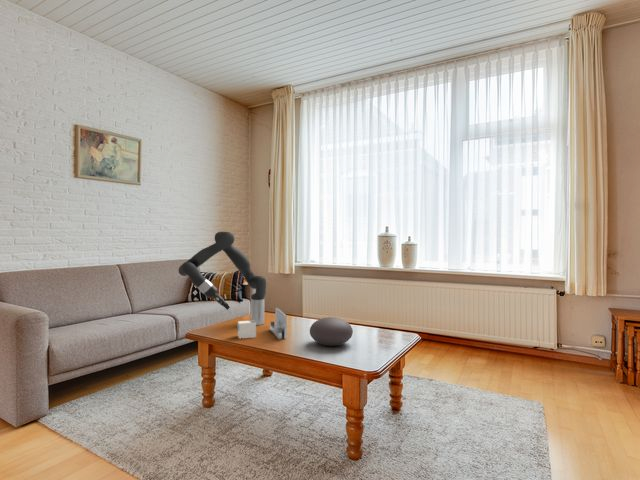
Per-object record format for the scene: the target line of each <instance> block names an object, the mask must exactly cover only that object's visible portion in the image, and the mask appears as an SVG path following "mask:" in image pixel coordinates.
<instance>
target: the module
mask: <svg viewBox="0 0 640 480" xmlns="http://www.w3.org/2000/svg"><path fill="white" fill-rule="evenodd" d="M236 329H237V338H238V339H239V340H242V339H249V338H250V339H252V338H257V325H256V321H255V320H251V319H250V320H240V321H237V324H236ZM241 338H242V339H241Z"/></svg>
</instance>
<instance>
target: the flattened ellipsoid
mask: <svg viewBox="0 0 640 480" xmlns="http://www.w3.org/2000/svg"><path fill="white" fill-rule="evenodd" d="M353 331H354V330H353V328H352V325H351V324H350V323H349V322H348V321H347V320H345V319H342V318H340V317H333V316H329V317H327V316H326V317H322V318H319V319H317V320H316V321H314V322H313V323H312V324H311V326H310V327H309V335H310V337H311V338H312V340H314V341H315V342H316V343H318V344H321V345H324V346H329V347H330V346H331V347H333V346H335V347H336V346H340V345H342V344H346V343H347V342H349V340H351V339H352V337H353V333H354V332H353Z"/></svg>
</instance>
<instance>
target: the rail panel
mask: <svg viewBox="0 0 640 480" xmlns="http://www.w3.org/2000/svg"><path fill="white" fill-rule="evenodd" d="M274 312H275V314H274V315H275V318H274V319H275V320H273V321H270V324H269V327H270V328H269V329H270V331H271V333H273V335H274V336H275V337H276V338H277V339H278V340H282V339H284V340H287V335H288V334H287V331H288V330H287V327H288V326H287V324H288V322H287V318H288V317H287V314H285V313H284V312H283V310H281V309H279V308H278V307H275V311H274Z"/></svg>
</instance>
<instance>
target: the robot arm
mask: <svg viewBox="0 0 640 480" xmlns="http://www.w3.org/2000/svg"><path fill="white" fill-rule="evenodd" d="M214 241H215V242H214V243H212V244H211V245H209V246H207V247H204V248H202V249H201V250H199V251H198V252H197V253H195V254H194V255H193V256H192V257H191V258H189V259H188V260H187V261H185V262H184V263H181V265H180V266H179V267H178V269H177V270H178V273H179V274H180V276H183V277H187V276H188V277H189V278H190V282H191V283H192V284H193V285H194V286H195V287H196V288H197V289H198V290H199V291H200V292H201V293H202V294H203V295H204V296H206V298H207V299H210V298H212V297H213V301H216V303H218V304H219V305H220V306H222V307H223V308H224V309H226V310H227V311H228V310H229V309H230V308H231V306H229V304H228V303H227V302H226V301H225V299H224V298H223V296H221V295H220V294H219V293H217V292H218V290H219V289H218V287H216V286H215V285H214V284H213V283H212V282H211V281H210V280H209V279H207V278H206V277H205V276H204V275H203V274H202V272H200V270H199V269H198V268H199V267H201V266H202V265H204V263H205V262H207V261H208V260H209V259H211V258H212V257H213V256H215V255H217V254H218V253H220V252H222V251H223V252H224V253H225V255H226V256H227V257H228V258H229V260H230V261H231V262H232V263H233V265H234V266H235V267H236V269H237V270H238V271H239V272H240V275H242V276H243V278H244V280H245V281H246V283H247V285H248V286H249V287H250V288H251V289H253V290H255V293H253V294H251V296H250V320H255V321H256V326H260V325H264V324H265V296H266V292H267V291H266V290H267V279H266V277H265V276H263V275H257V274H255V273H254V272H253V271H252V270H251V262H250V260H249V258H248V257H247V256H246V254H245V253H243V251H241V250H240V249H238V248H237V247H235V246H234V245H233V244H234V243H235V236H234V234H233V233H232V232H230V231H218V232H216V233H215V235H214Z"/></svg>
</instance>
